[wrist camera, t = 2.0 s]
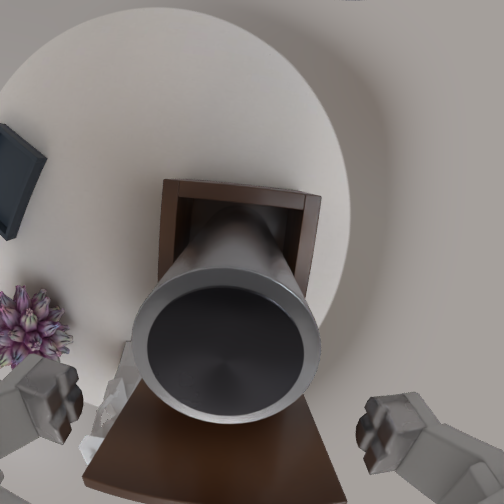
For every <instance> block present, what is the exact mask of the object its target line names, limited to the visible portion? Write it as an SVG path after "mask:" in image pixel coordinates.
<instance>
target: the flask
mask: <svg viewBox="0 0 504 504" xmlns="http://www.w3.org/2000/svg"><path fill="white" fill-rule="evenodd" d="M131 341H132V352H133V356H134V361H135V363H136V366H137V369H138V371H139V373H140V375H141V377H142V378H143V380H144V381H145V383H146V384H147V386H148V387H149V388H150V389H151V390H152V392H153V393H154V394H155V395H156V396H157V397H159V398H160V399H161V400H162V401H163V402H164V403H166V404H167V405H169V406H170V407H172V408H173V409H175V410H177V411H179V412H180V413H182V414H185V415H187V416H189V417H192V418H195V419H198V420H201V421H206V422H211V423H218V424H242V423H249V422H254V421H258V420H262V419H265V418H268V417H270V416H272V415H275V414H277V413H279V412H280V411H282V410H284V409H286V408H287V407H288V406H290V405H291V404H293V403H294V402H295V401H296V400H297V399H298V398H299V397H300V396H301V395H302V394H303V393H304V392H305V391H306V389H307V388H308V387H309V385H310V383H311V382H312V380H313V378H314V376H315V374H316V372H317V369H318V365H319V361H320V355H321V339H320V334H319V329H318V326H317V324H316V321H315V318H314V316H313V314H312V312H311V310H310V308H309V306H308V304H307V302H306V300H305V298H304V296H303V294H302V292H301V290H300V288H299V286H298V284H297V282H296V280H295V278H294V276H293V274H292V272H291V270H290V268H289V266H288V264H287V262H286V260H285V258H284V256H283V254H282V252H281V250H280V248H279V246H278V244H277V242H276V240H275V238H274V236H273V234H272V232H271V230H270V229H269V227H268V225H267V223H266V221H265V220H264V218H263V217H262V216H261V215H260V214H259V213H258V212H256V211H255V210H253V209H251V208H249V207H245V206H239V205H234V206H228V207H225V208H223V209H221V210H219V211H217V212H216V213H215V214H214V215H213V216H212V217H211V218H210V219H209V220H208V221H207V223H206V224H205V225H204V226H203V228H202V229H201V230H200V231H199V232H198V234H197V235H196V236H195V237H194V238H193V240H192V241H191V242H190V243H189V245H188V246H187V247H186V248H185V250H184V251H183V252H182V253H181V255H180V256H179V257H178V258H177V260H176V261H175V262H174V263H173V265H172V266H171V267H170V268H169V270H168V271H167V272H166V273H165V275H164V276H163V277H162V279H161V280H160V281H159V282H158V284H157V285H156V286H155V288H154V289H153V290H152V292H151V293H150V294H149V295H148V297H147V298H146V299H145V301H144V302H143V304H142V306H141V307H140V309H139V311H138V313H137V315H136V318H135V321H134V325H133V329H132V338H131Z"/></svg>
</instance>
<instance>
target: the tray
mask: <svg viewBox="0 0 504 504" xmlns="http://www.w3.org/2000/svg"><path fill="white" fill-rule="evenodd" d="M46 160H47V158H46V157H45V156H44V155H43V154H41V153H40V152H39V151H37V150H36V149H35V148H34V147H33V146H31V145H30V144H29V143H28V142H26V141H25V140H24V139H23V138H21V137H20V136H19V135H18V134H17V133H15V132H14V131H13V130H12V129H10V128H9V127H8V126H7V125H6V124H1V123H0V235H1V236H2V237H3V238H4V239H5V240H6V241H8V240H11V239H13V238H16V236H17V233H18V230H19V227H20V224H21V221H22V218H23V215H24V212H25V210H26V207H27V204H28V202H29V199H30V197H31V194H32V192H33V189H34V187H35V185H36V182H37V180H38V178H39V175H40V173H41V171H42V169H43V167H44V165H45V162H46Z"/></svg>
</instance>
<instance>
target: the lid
mask: <svg viewBox="0 0 504 504" xmlns="http://www.w3.org/2000/svg"><path fill="white" fill-rule="evenodd" d="M82 478H83V481H84V484H85V486H86V487H89V488H92V489H95V490H98V491H101V492H104V493H107V494H111V495H114V496H118V497H121V498H125V499H128V500H132V501H137V502H141V503H145V504H347V499H346V496H345V494H344V492H343V489H342V487H341V485H340V482H339V480H338V477H337V475H336V472H335V470H334V467H333V465H332V463H331V460H330V458H329V455H328V453H327V451H326V448H325V446H324V443H323V441H322V439H321V436H320V434H319V431H318V429H317V426H316V424H315V422H314V419H313V417H312V414H311V412H310V409H309V407H308V405H307V402H306V400H305V397H304V395H303V394H302V395H301V396H300V397H299V398H298V399H297V400H296V401H295V402H294V403H293V404H291V405H290V406H288V407H287V408H286V409H284V410H282V411H280V412H279V413H277V414H275V415H272V416H270V417H268V418H265V419H262V420H258V421H254V422H249V423H242V424H218V423H211V422H206V421H201V420H198V419H195V418H192V417H189V416H187V415H185V414H182V413H180V412H179V411H177V410H175V409H173V408H172V407H170V406H169V405H167V404H166V403H164V402H163V401H162V400H161V399H160V398H159V397H157V396H156V395H155V394H154V393H153V392H152V390H151V389H150V388H149V387H148V386H147V384H146V383H145V381H144V380H143V378H142V379H141V380H140V382H139V383H138V385H137V387H136V388H135V390H134V391H133V393H132V394H131V396H130V398H129V399H128V401H127V403H126V404H125V406H124V407H123V409H122V411H121V412H120V414H119V415H118V417H117V419H116V420H115V422H114V424H113V425H112V427H111V429H110V430H109V432H108V433H107V435H106V437H105V438H104V440H103V442H102V443H101V445H100V447H99V448H98V450H97V452H96V453H95V455H94V457H93V458H92V460H91V462H90V463H89V465H88V467H87V468H86V470H85V472H84V474H83V476H82Z"/></svg>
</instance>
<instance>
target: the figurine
mask: <svg viewBox="0 0 504 504" xmlns="http://www.w3.org/2000/svg"><path fill="white" fill-rule="evenodd" d="M141 379H142V377H141V375H140V373H139V371H138V369H137V366H136V363H135V361H134V356H133V352H132V341H128V342H126V344H125V348H124V351H123V354H122V358H121V361H120V365H119V367H118V370H117V372H116V375H115V377H114V379H113V380H111V381H108V385H107V388H106V392H105V395H104V401H103V403H102V404H101V405H100V406H99V408H98V409H97V411H96V417H95V421H94V424H93V428H92V431H91V436H88V435H86V436H85V437H84V439H83V440H82V442H81V444H80V445H79V449H80V451H81V454H82V456H83V458H84V460H85V461H86V464H88V465H89V463H90V462H91V460H92V458H93V457H94V455H95V453H96V452H97V450H98V448H99V447H100V445H101V443H102V442H103V440H104V438H105V437H106V435H107V433H108V432H109V430H110V429H111V427H112V425H113V424H114V422H115V420H116V419H117V417H118V415H119V414H120V412H121V411H122V409H123V407H124V406H125V404H126V403H127V401H128V399H129V398H130V396H131V394H132V393H133V391H134V390H135V388H136V387H137V385H138V383H139V382H140V380H141ZM104 408H105V409H106V412H107V413H108V414H109V415H110V416H111V417H112V419H110V420H107V421H106V422H105V423H103V426H102V427H101V416H102V413H103V410H104Z"/></svg>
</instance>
